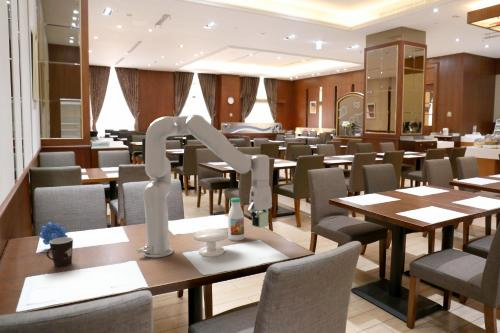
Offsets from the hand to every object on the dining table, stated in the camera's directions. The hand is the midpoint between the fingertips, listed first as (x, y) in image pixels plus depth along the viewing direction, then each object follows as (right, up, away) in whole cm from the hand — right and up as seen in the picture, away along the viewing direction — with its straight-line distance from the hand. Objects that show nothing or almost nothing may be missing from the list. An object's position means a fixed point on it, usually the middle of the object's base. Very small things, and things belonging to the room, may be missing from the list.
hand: (260, 224), depth 168 cm
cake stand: (-21, -13, 0) cm, 25 cm away
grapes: (-95, -13, +10) cm, 96 cm away
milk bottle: (-11, -10, +19) cm, 25 cm away
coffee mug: (-82, -15, -12) cm, 84 cm away
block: (0, -1, 0) cm, 1 cm away
